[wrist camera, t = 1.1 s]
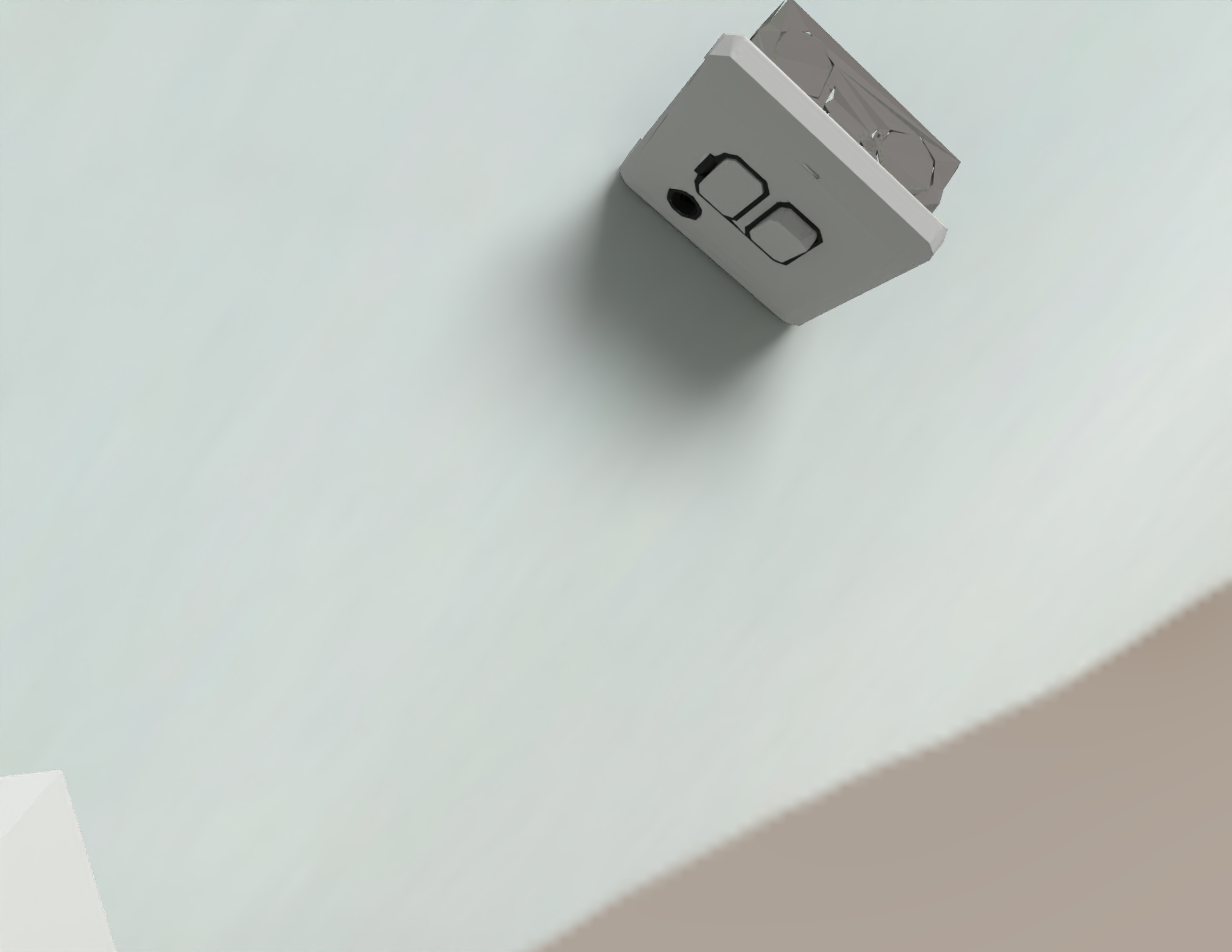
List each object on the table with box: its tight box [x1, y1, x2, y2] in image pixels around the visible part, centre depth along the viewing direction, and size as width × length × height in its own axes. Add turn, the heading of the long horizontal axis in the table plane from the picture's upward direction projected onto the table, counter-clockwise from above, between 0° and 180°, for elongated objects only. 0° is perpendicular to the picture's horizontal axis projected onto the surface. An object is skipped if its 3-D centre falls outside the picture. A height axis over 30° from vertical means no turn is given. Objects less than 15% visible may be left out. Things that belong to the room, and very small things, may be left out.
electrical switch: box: [619, 0, 960, 326], centre depth 32 cm, size 9×5×9 cm, turn 51°
